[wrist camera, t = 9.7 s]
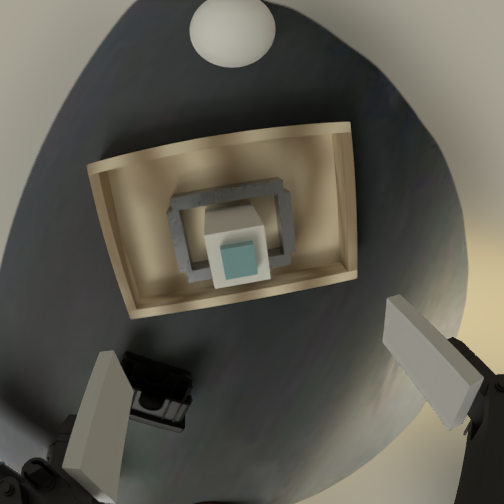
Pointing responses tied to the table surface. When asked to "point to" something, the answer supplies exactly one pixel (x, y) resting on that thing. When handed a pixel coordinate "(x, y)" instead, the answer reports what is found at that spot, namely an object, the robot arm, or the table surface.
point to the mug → (210, 503)
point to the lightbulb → (232, 31)
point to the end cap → (157, 392)
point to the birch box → (217, 174)
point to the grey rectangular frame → (226, 194)
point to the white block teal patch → (236, 245)
